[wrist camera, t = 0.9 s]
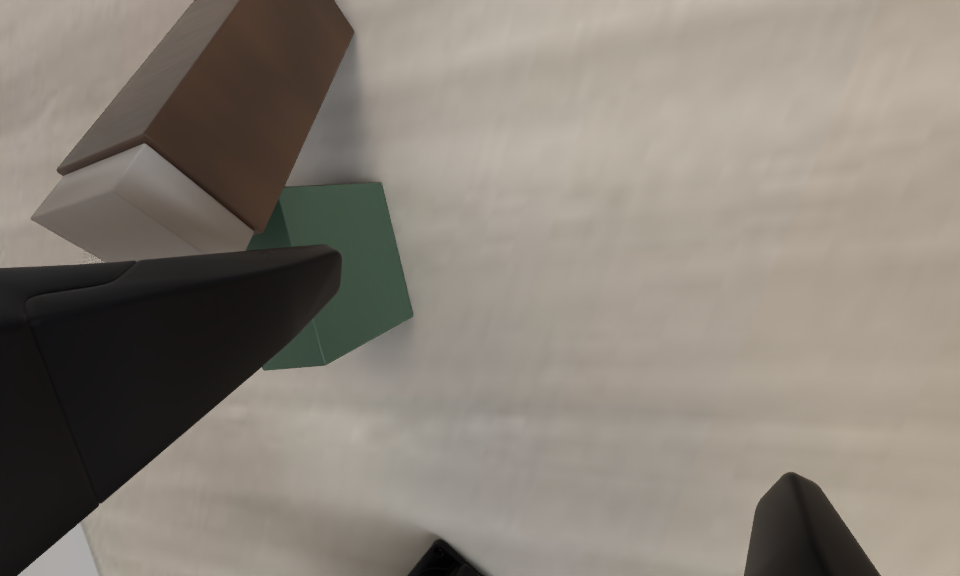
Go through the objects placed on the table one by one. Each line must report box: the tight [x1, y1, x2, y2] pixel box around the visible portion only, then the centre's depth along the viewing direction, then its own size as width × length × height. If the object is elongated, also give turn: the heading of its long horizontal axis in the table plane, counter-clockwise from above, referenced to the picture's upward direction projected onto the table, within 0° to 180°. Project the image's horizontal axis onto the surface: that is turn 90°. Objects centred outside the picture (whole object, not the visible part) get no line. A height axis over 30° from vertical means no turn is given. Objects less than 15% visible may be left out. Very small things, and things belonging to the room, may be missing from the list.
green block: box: [245, 182, 413, 370], centre depth 22 cm, size 7×3×7 cm, turn 13°
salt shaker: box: [31, 0, 354, 263], centre depth 18 cm, size 13×4×13 cm, turn 13°
